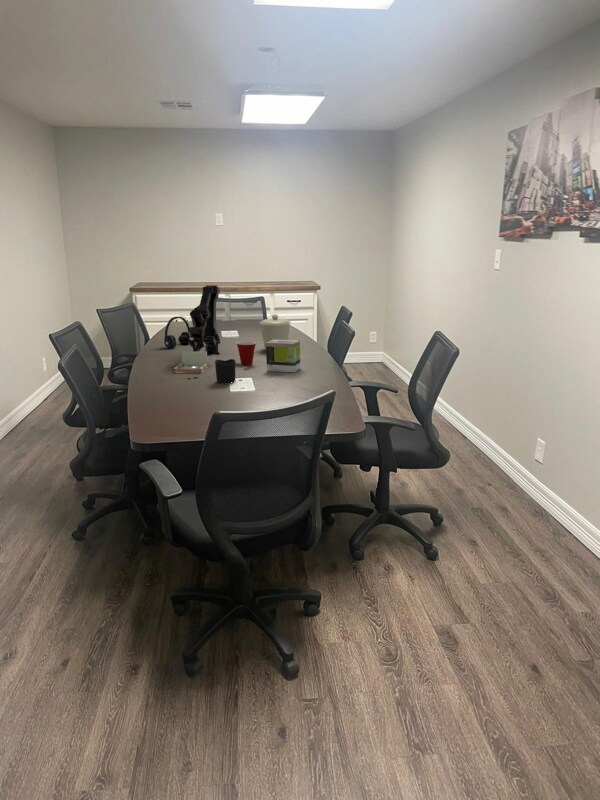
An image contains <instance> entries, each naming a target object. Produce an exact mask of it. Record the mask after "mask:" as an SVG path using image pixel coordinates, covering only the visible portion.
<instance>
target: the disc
mask: <svg viewBox="0 0 600 800" xmlns="http://www.w3.org/2000/svg"><path fill="white" fill-rule="evenodd" d="M183 369H199V365H186V366H183Z"/></svg>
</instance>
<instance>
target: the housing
mask: <svg viewBox="0 0 600 800" xmlns="http://www.w3.org/2000/svg"><path fill="white" fill-rule="evenodd" d="M183 366H184V365H183V363H182V362H181V363H179V364H178V365H176V366H175V367H173V369H172V370H173V371H172V372H173V374H203V372H205V370H207V369H208V368H209V363H206V364H204V365H203V366H202V367H201V368H200V369H180V368H182V367H183Z"/></svg>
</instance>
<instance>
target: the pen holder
mask: <svg viewBox="0 0 600 800" xmlns="http://www.w3.org/2000/svg"><path fill="white" fill-rule="evenodd" d="M214 366H215V375H216V382H217V383H218V384H220V383H230V384H232V383H231V382H233V383H235V382H236V359H234V358H230V359H226V360H223V359H215V361H214ZM234 381H235V382H234Z"/></svg>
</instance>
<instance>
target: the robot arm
mask: <svg viewBox="0 0 600 800" xmlns="http://www.w3.org/2000/svg"><path fill="white" fill-rule="evenodd" d="M219 295H220V287H218V285H214V284H213V285H211V284H210V285H209V284H208V285H205V286H202V293H201V297H200V303H199V304H198V305H197V306H196V307H194V309H192V310H191V311H189V312H190V313H189V316H190V319H191V322H192V321H193V323H194V324H195V325H194V327H193V326H189V327H190V334H191V337H192V338H190V339H188V338H187V336H181V335H179V336H178V339H177V340H178V342H179V343H180V346H182V347H183V346H185V347H187V346H189V345H190V347H191V348H192V351H201V349H203V348H205V349H204V350H205V351H207V354H208V355H207V356H210V355H220V354H221V353H220V352H219V345H220V344H221V338H220V336H219V333H218V330H217V328H216V301H217V300H218V298H219V297H220V296H219ZM205 320H207V326H206V322H205ZM193 323H192V324H193ZM189 343H190V344H189Z"/></svg>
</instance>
